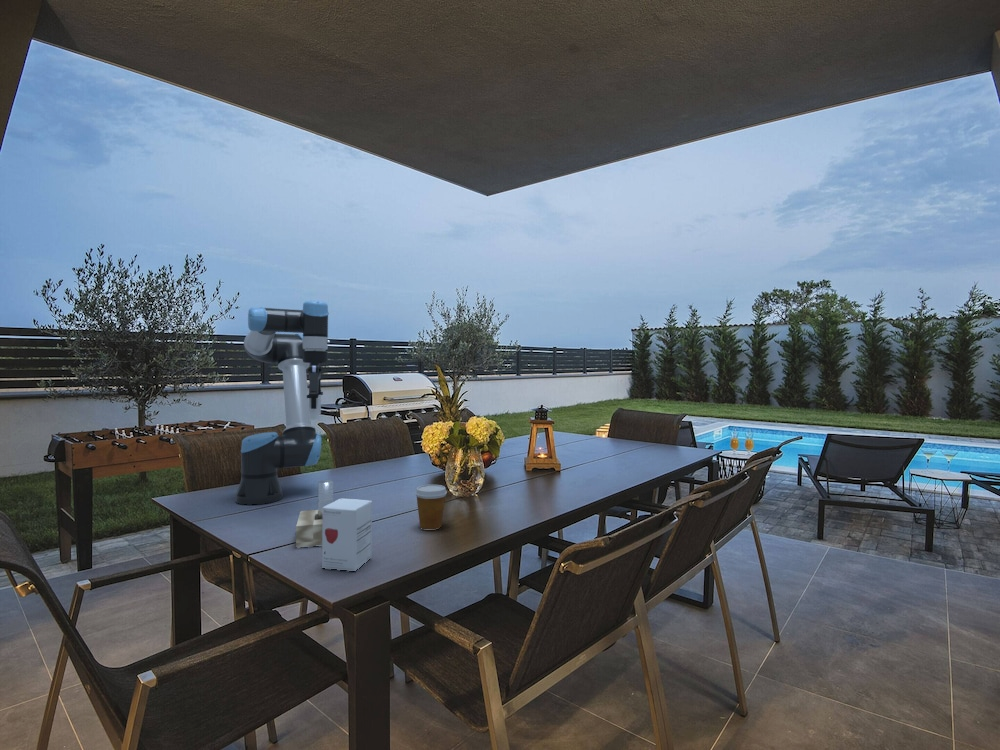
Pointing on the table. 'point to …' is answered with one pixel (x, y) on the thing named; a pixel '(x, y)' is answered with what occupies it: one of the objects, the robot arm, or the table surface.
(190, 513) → the table surface
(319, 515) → the peg
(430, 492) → the disposable coffee cup
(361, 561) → the supplement box
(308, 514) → the bore block
